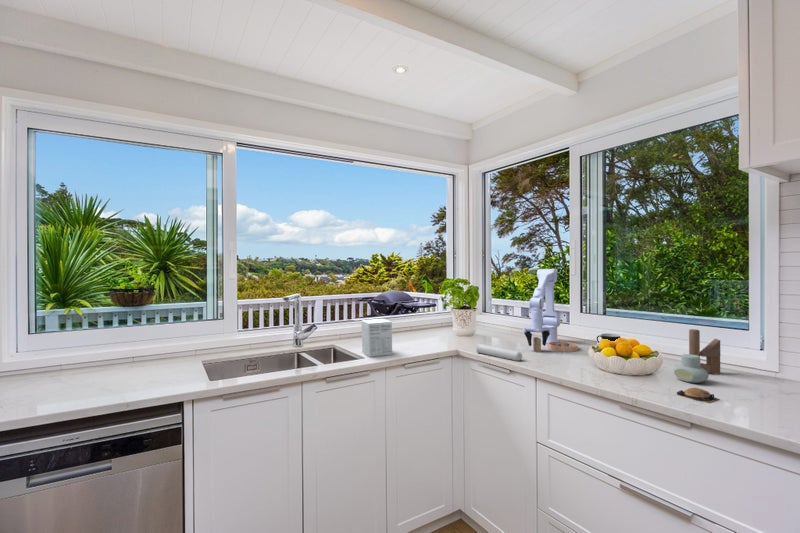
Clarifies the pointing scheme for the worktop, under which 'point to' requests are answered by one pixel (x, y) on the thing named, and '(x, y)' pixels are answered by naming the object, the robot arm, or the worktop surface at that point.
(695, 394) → the brown domed oval piece
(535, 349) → the tan rectangular block
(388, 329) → the supplement box
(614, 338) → the coffee mug
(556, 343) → the candle dish
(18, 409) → the worktop surface
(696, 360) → the air freshener
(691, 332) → the brown wooden sculpture
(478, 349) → the tube
